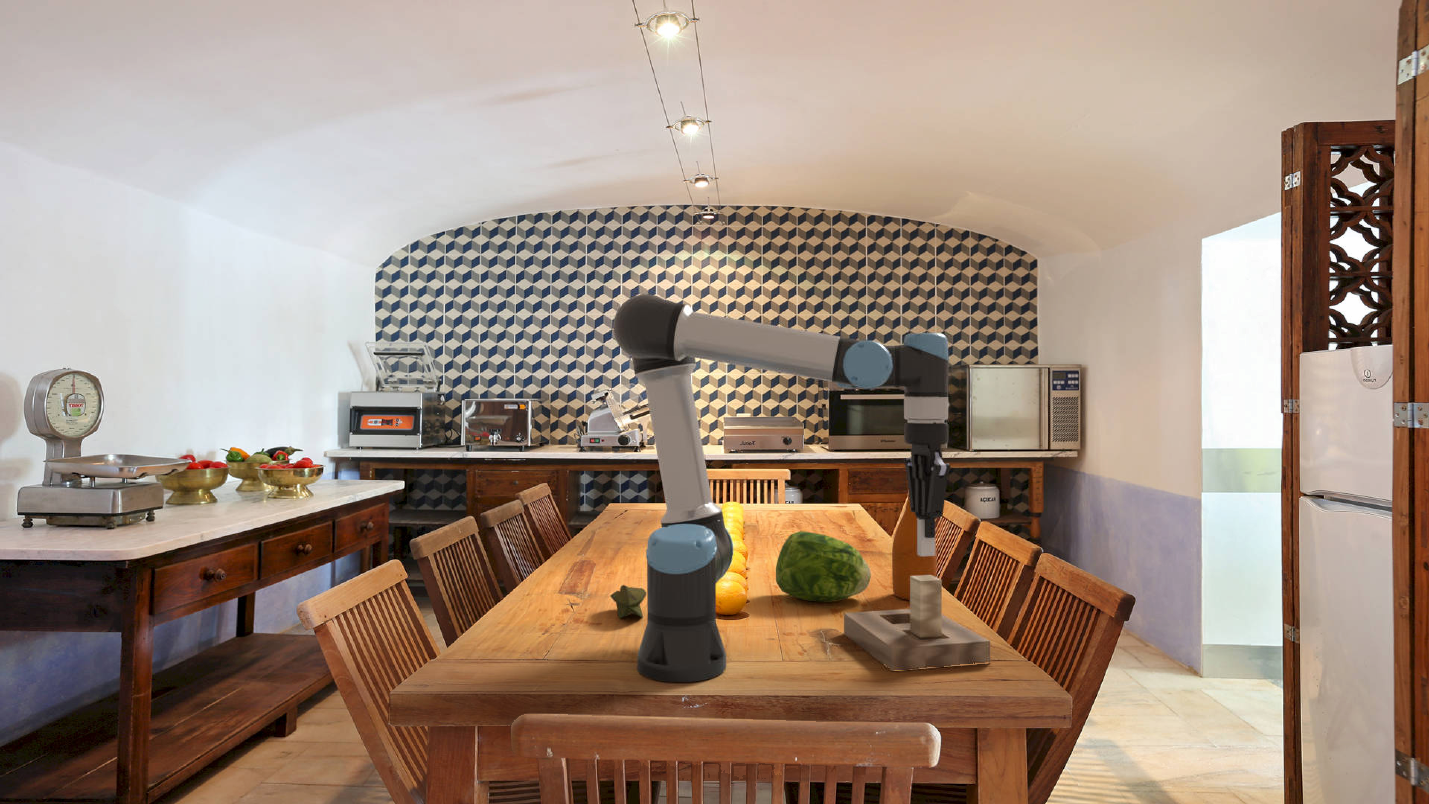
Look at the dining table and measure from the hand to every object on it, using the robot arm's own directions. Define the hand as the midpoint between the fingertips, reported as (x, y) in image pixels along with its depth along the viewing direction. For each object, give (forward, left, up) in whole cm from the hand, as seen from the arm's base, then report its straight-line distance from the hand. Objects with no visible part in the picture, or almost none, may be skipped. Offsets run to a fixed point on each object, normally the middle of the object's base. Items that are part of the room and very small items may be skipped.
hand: (926, 555), depth 145 cm
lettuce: (-4, +41, -18) cm, 45 cm away
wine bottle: (+17, +39, -18) cm, 46 cm away
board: (0, +5, -18) cm, 19 cm away
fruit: (-49, +37, -18) cm, 64 cm away
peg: (0, 0, -18) cm, 18 cm away
